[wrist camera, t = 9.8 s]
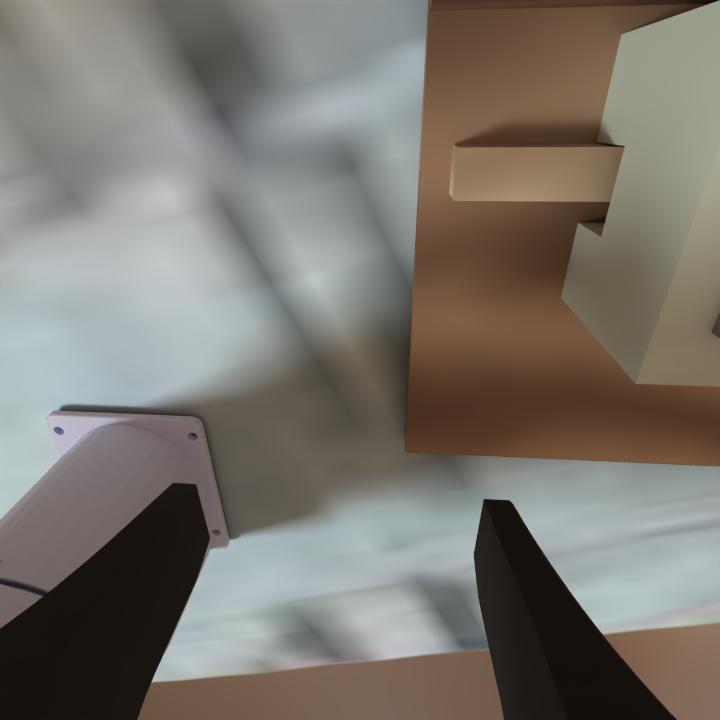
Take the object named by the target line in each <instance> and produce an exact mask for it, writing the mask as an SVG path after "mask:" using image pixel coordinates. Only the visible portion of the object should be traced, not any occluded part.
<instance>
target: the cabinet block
mask: <svg viewBox="0 0 720 720" xmlns="http://www.w3.org/2000/svg"><path fill="white" fill-rule="evenodd" d="M597 142H602V143H608V144H615V145H621V146H625V147H624V151H623V155H622V159H621V163H620V167H619V171H618V174H617V178H616V182H615V186H614V190H613V194H612V198H611V201H610V205H609V209H608V213H607V217H606V221H605V223H578V225H577V230H576V234H575V238H574V243H573V247H572V251H571V256H570V260H569V264H568V269H567V273H566V278H565V282H564V286H563V291H562V295H561V299H562V300H563V301H564V302H565V303H566V304H567V305H568V307H569V308H570V309H571V310H572V311H573V312H574V314H575V315H576V316H577V317H578V318H579V319H580V321H581V322H582V323H583V324H584V325H585V326H586V327H587V329H588V330H589V331H590V332H591V333H592V334H593V336H594V337H595V338H596V339H597V340H598V341H599V342H600V344H601V345H602V346H603V347H604V348H605V349H606V351H607V352H608V353H609V354H610V355H611V356H612V357H613V359H614V360H615V361H616V362H617V363H618V364H619V366H620V367H621V368H622V369H623V370H624V371H625V372H626V374H627V375H628V376H629V377H630V378H631V379H632V381H633V382H634V383H635V384H656V385H686V386H716V387H720V0H719V1H717V2H714V3H711V4H708V5H705V6H702V7H699V8H696V9H693V10H691V11H688V12H685V13H682V14H679V15H676V16H673V17H670V18H667V19H665V20H662V21H659V22H656V23H653V24H650V25H647V26H644V27H641V28H639V29H636V30H633V31H630V32H627V33H624V34H621V38H620V43H619V47H618V51H617V56H616V60H615V64H614V69H613V73H612V77H611V82H610V86H609V91H608V95H607V99H606V104H605V108H604V112H603V117H602V121H601V125H600V130H599V134H598V138H597Z"/></svg>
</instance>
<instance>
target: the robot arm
mask: <svg viewBox="0 0 720 720" xmlns="http://www.w3.org/2000/svg"><path fill="white" fill-rule="evenodd" d="M46 421H47V424H48V426H49V428H50V431H51V433H52V435H53V437H54V440H55V442H56V444H57V446H58V449H59V451H60V453H61V455H62V457H61V458H60V459H59V460H58V461H57V462H56V463H55V464H54V465H53V466H52V467H51V468H50V469H49V470H48V471H47V472H46V473H45V475H44V476H43V477H42V478H41V479H40V480H39V481H38V482H37V483H36V484H35V485H34V486H33V487H32V488H31V489H30V490H29V491H28V492H27V493H26V494H25V495H24V496H23V497H22V498H21V499H20V500H19V501H18V502H17V503H16V504H15V505H14V506H13V507H12V508H11V509H10V510H9V511H8V512H7V513H6V514H5V515H4V516H3V518H2V519H1V520H0V720H137V718H138V716H139V713H140V710H141V707H142V704H143V702H144V699H145V696H146V694H147V691H148V689H149V686H150V684H151V682H152V679H153V677H154V674H155V672H156V670H157V668H158V665H159V663H160V661H161V659H162V657H163V655H164V653H165V651H166V650H167V648H168V646H169V644H170V642H171V640H172V637H173V635H174V633H175V630H176V628H177V626H178V624H179V621H180V619H181V617H182V614H183V612H184V610H185V607H186V605H187V603H188V600H189V598H190V596H191V593H192V591H193V589H194V586H195V584H196V582H197V579H198V577H199V575H200V572H201V570H202V568H203V566H204V563H205V561H206V559H207V556H208V554H209V552H210V549H225V548H226V547H227V546H228V544H229V535H228V531H227V527H226V522H225V518H224V513H223V509H222V505H221V500H220V496H219V492H218V487H217V483H216V479H215V474H214V470H213V465H212V461H211V457H210V452H209V448H208V444H207V439H206V435H205V430H204V426H203V423H202V421H201V420H200V419H198V418H196V417H192V416H172V415H148V414H124V413H100V412H76V411H53V412H51V413H50V414H49V415H48V416H47V418H46ZM192 433H195V434H196V435H197V436H195V435H193V434H192ZM474 562H475V571H476V581H477V589H478V598H479V603H480V608H481V612H482V617H483V622H484V626H485V631H486V636H487V640H488V645H489V650H490V654H491V659H492V663H493V668H494V673H495V677H496V682H497V686H498V691H499V695H500V700H501V705H502V710H503V716H504V720H677V719H676V718H675V717H674V716H673V715H672V714H671V713H670V712H669V711H668V710H667V709H666V708H665V707H664V706H663V704H662V703H661V702H660V701H659V700H658V699H657V698H656V697H655V695H654V694H653V693H652V692H651V691H650V690H649V689H648V688H647V687H646V685H645V684H644V683H643V682H642V681H641V680H640V679H639V678H638V676H637V675H636V674H635V673H634V672H633V671H632V669H631V668H630V667H629V666H628V665H627V664H626V662H625V661H624V660H623V659H622V658H621V657H620V655H619V654H618V653H617V652H616V651H615V649H614V648H613V647H612V646H611V645H610V643H609V642H608V641H607V640H606V638H605V637H604V636H603V634H602V633H601V632H600V631H599V629H598V628H597V627H596V626H595V624H594V623H593V622H592V620H591V619H590V618H589V616H588V615H587V614H586V613H585V611H584V610H583V609H582V607H581V606H580V605H579V603H578V602H577V601H576V599H575V598H574V596H573V595H572V594H571V592H570V591H569V590H568V588H567V587H566V585H565V584H564V582H563V581H562V580H561V578H560V577H559V575H558V574H557V572H556V571H555V570H554V568H553V567H552V565H551V564H550V562H549V561H548V559H547V558H546V556H545V555H544V553H543V552H542V550H541V549H540V547H539V546H538V544H537V543H536V541H535V539H534V538H533V536H532V535H531V533H530V531H529V530H528V528H527V527H526V525H525V523H524V522H523V520H522V518H521V517H520V515H519V513H518V512H517V510H516V508H515V506H514V505H513V503H512V502H511V501H510V500H491V499H484V501H483V507H482V512H481V518H480V523H479V529H478V534H477V540H476V545H475V550H474Z"/></svg>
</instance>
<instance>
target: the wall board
mask: <svg viewBox="0 0 720 720" xmlns="http://www.w3.org/2000/svg"><path fill="white" fill-rule="evenodd" d="M717 1H719V0H429V1H428V19H427V38H426V56H425V75H424V93H423V112H422V130H421V149H420V167H419V186H418V204H417V223H416V241H415V260H414V278H413V297H412V315H411V334H410V352H409V371H408V389H407V408H406V426H405V452H415V453H437V454H459V455H480V456H502V457H524V458H546V459H567V460H589V461H611V462H633V463H654V464H676V465H698V466H719V467H720V387H716V386H686V385H656V384H635V383H634V382H633V381H632V379H631V378H630V377H629V376H628V375H627V374H626V372H625V371H624V370H623V369H622V368H621V367H620V366H619V364H618V363H617V362H616V361H615V360H614V359H613V357H612V356H611V355H610V354H609V353H608V352H607V351H606V349H605V348H604V347H603V346H602V345H601V344H600V342H599V341H598V340H597V339H596V338H595V337H594V336H593V334H592V333H591V332H590V331H589V330H588V329H587V327H586V326H585V325H584V324H583V323H582V322H581V321H580V319H579V318H578V317H577V316H576V315H575V314H574V312H573V311H572V310H571V309H570V308H569V307H568V305H567V304H566V303H565V302H564V301H563V300H562V299H561V295H562V291H563V286H564V282H565V278H566V273H567V269H568V264H569V260H570V256H571V251H572V247H573V243H574V238H575V234H576V230H577V225H578V223H605V221H606V217H607V213H608V209H609V205H610V201H611V198H612V194H613V190H614V186H615V182H616V178H617V174H618V171H619V167H620V163H621V159H622V155H623V151H624V147H625V146H621V145H615V144H608V143H602V142H597V138H598V134H599V130H600V125H601V121H602V117H603V112H604V108H605V104H606V99H607V95H608V91H609V86H610V82H611V77H612V73H613V69H614V64H615V60H616V56H617V51H618V47H619V43H620V38H621V34H624V33H627V32H630V31H633V30H636V29H639V28H641V27H644V26H647V25H650V24H653V23H656V22H659V21H662V20H665V19H667V18H670V17H673V16H676V15H679V14H682V13H685V12H688V11H691V10H693V9H696V8H699V7H702V6H705V5H708V4H711V3H714V2H717Z"/></svg>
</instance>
